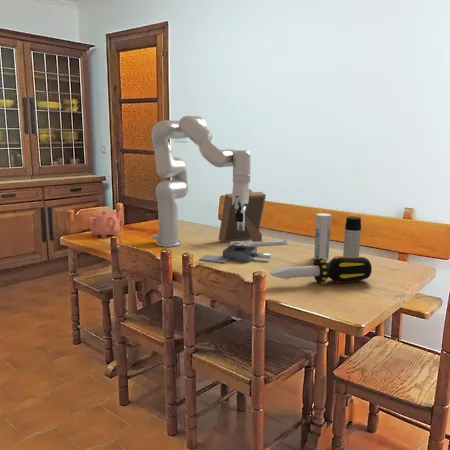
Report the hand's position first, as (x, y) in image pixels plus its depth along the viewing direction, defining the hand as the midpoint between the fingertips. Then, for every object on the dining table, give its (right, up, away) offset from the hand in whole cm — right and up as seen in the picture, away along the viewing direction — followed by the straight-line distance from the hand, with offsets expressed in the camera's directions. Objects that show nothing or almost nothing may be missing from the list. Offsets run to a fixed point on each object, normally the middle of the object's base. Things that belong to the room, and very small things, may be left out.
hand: (240, 220), depth 206 cm
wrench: (+12, -12, +24) cm, 29 cm away
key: (0, -4, +1) cm, 4 cm away
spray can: (+48, -19, -3) cm, 51 cm away
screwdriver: (+29, -24, -31) cm, 49 cm away
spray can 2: (+36, -17, +4) cm, 40 cm away
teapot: (-71, -8, +45) cm, 84 cm away
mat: (-11, -17, 0) cm, 21 cm away
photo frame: (+3, -11, +34) cm, 36 cm away
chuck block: (+3, -17, +2) cm, 17 cm away
